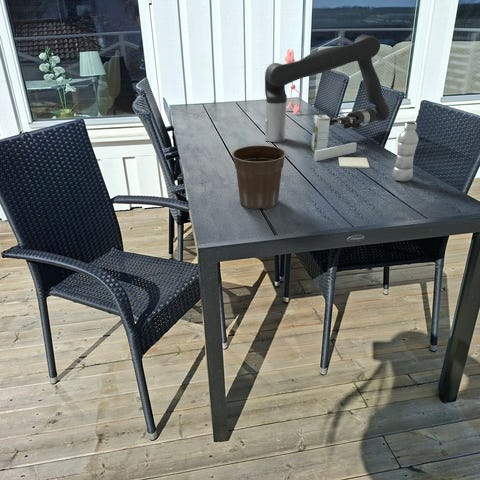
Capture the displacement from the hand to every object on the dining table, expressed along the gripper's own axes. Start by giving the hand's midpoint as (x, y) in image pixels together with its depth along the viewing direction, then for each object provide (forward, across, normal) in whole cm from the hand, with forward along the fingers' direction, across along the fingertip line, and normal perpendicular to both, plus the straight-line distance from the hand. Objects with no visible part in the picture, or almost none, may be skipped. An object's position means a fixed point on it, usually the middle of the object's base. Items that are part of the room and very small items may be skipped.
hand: (336, 124), depth 186 cm
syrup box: (+11, 0, +9) cm, 14 cm away
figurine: (-35, -60, +9) cm, 70 cm away
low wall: (+13, +10, +9) cm, 19 cm away
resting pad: (+15, +21, +9) cm, 28 cm away
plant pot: (+70, +23, +9) cm, 74 cm away
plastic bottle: (+20, +44, +9) cm, 49 cm away
